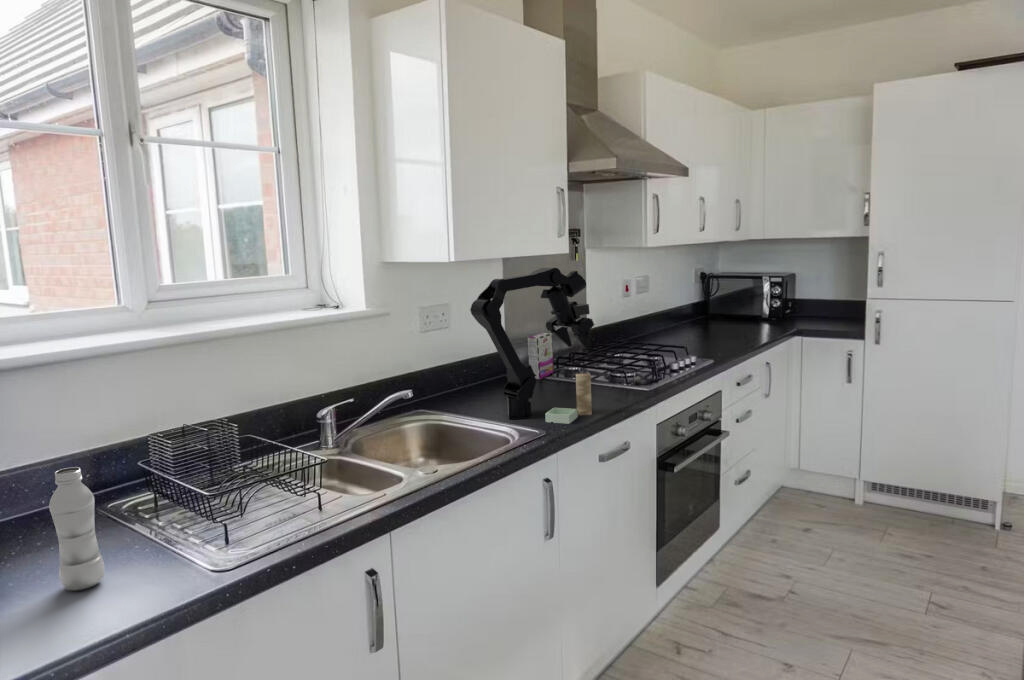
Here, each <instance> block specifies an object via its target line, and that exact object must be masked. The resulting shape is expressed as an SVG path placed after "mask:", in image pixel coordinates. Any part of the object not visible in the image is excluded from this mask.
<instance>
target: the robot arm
mask: <svg viewBox="0 0 1024 680" xmlns="http://www.w3.org/2000/svg"><path fill="white" fill-rule="evenodd" d="M532 287H533V288H534V287H550V288H549V289H542V292H541V295H540V299H547V300H548V303H549V304H550V306H551V309H552V310H551V311H550V313H551V315H554V316H553V317H552V318H550V319H548V320H547V321H546V323H545V328H546V330H547V331H550V332H549V333H552V335H554V336H556V337H557V338H558V340H560V341H561V342H563V343H564V344H565V345H566V346H567V347H568V348H570V347H572V345H573V344H572V340H571V337H570V334H569V331H568V328H571V329H570V330H571V332H573V336H574V337H575V339H577V341H578V343H580V345H581V346H582V347H583V348H584V349H585V350H589V349H590V342H589V341H590V340H589V332H590V330H591V329H592V328H593V327H594V326H595V323H594V320H593V318H590V317H581V316H583V315H590V304H589V303H578V302H577V301H570V300H569V298H574V297H575V296H576V295H578V294H579V293H581V292H582V291H583V290H585V289H586V288H587V281H586V279H585V278H584V277H583V276H582V275H581V274H579V273H578V270H572V271H570V272H568V274H566V275H565V274H564V273H562V272H561V270H560V269H559V268H557V267H541V268H538V269H536V270H533V271H532V272H530V273H526V274H521V275H516V276H510V277H504V278H494V279H493V280H491V281H490V283H489V285H488V286H487V287H486V288H485V289H484V290H483V291H482V292H481V293H480V294H479V295H478V296H477V298H476V299H475V300H474V301H472V303H471V307H470V309H469V310H470V314H471V315H472V317H473V318H474V320H476V322H477V323H478V324H479V325H480V326H481V327H482V328H483V329H485V331H486V332H487V334H488V336H489V338H490V339H491V342H492V343H493V345H494V347H495V349H496V351H497V353H498V355H499V356H500V359H501V360H502V362H503V364H504V366H505V368H506V378H507V382H506V384H505V385H504V386H503V388H502V390H501V391H502V394H503V396H505V397H506V398H507V400H506V401H507V413H506V415H507V418H508V417H509V418H508V419H509V420H520V419H521V420H522V419H531V415H532V401H531V399H532V398H533V394H534V391H535V388H536V385H537V379H536V378H535V376H536V375H535V374H534V372H533V370H532V367H531V365H529V364H526V363H523V362H522V361H521V359H520V357H519V355H518V353H517V351H516V349H515V348H514V345H513V343H512V342H511V340H510V338H509V336H508V334H507V332H506V330H505V328H504V327H503V324H502V314H501V313H502V312H501V310H500V309H501V308H502V306H503V304H504V301H505V297H506V294H507V292H511V291H516V290H523V289H526V288H532Z"/></svg>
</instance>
